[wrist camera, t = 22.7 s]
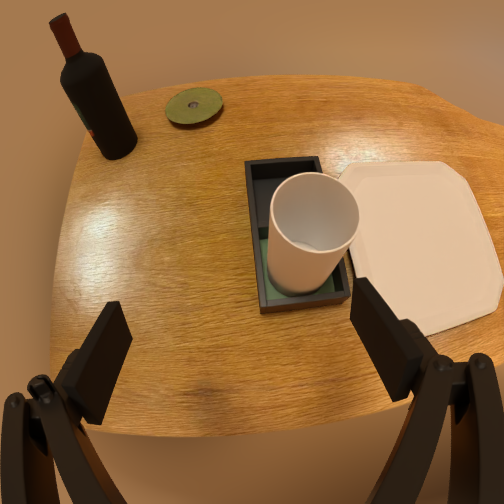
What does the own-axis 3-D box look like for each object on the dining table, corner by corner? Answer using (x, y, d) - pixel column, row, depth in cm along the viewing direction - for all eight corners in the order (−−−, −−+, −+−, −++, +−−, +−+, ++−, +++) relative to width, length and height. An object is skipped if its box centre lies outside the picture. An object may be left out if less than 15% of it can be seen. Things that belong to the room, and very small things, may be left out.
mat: (226, 93, 55) (225, 86, 54) (219, 129, 51) (218, 122, 50) (174, 96, 56) (172, 89, 54) (161, 132, 52) (159, 125, 50)
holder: (260, 314, 39) (260, 307, 35) (245, 178, 47) (244, 160, 43) (341, 303, 39) (350, 296, 35) (313, 173, 47) (318, 155, 43)
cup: (253, 268, 41) (250, 207, 26) (295, 229, 43) (312, 158, 28) (297, 311, 38) (321, 273, 23) (338, 269, 40) (378, 212, 25)
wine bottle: (125, 162, 49) (54, 26, 22) (96, 157, 50) (24, 37, 23) (144, 133, 52) (92, 0, 24) (115, 129, 53) (59, 10, 25)
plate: (366, 352, 37) (372, 351, 34) (322, 171, 47) (324, 163, 45) (503, 307, 37) (511, 304, 35) (453, 167, 48) (458, 160, 46)
